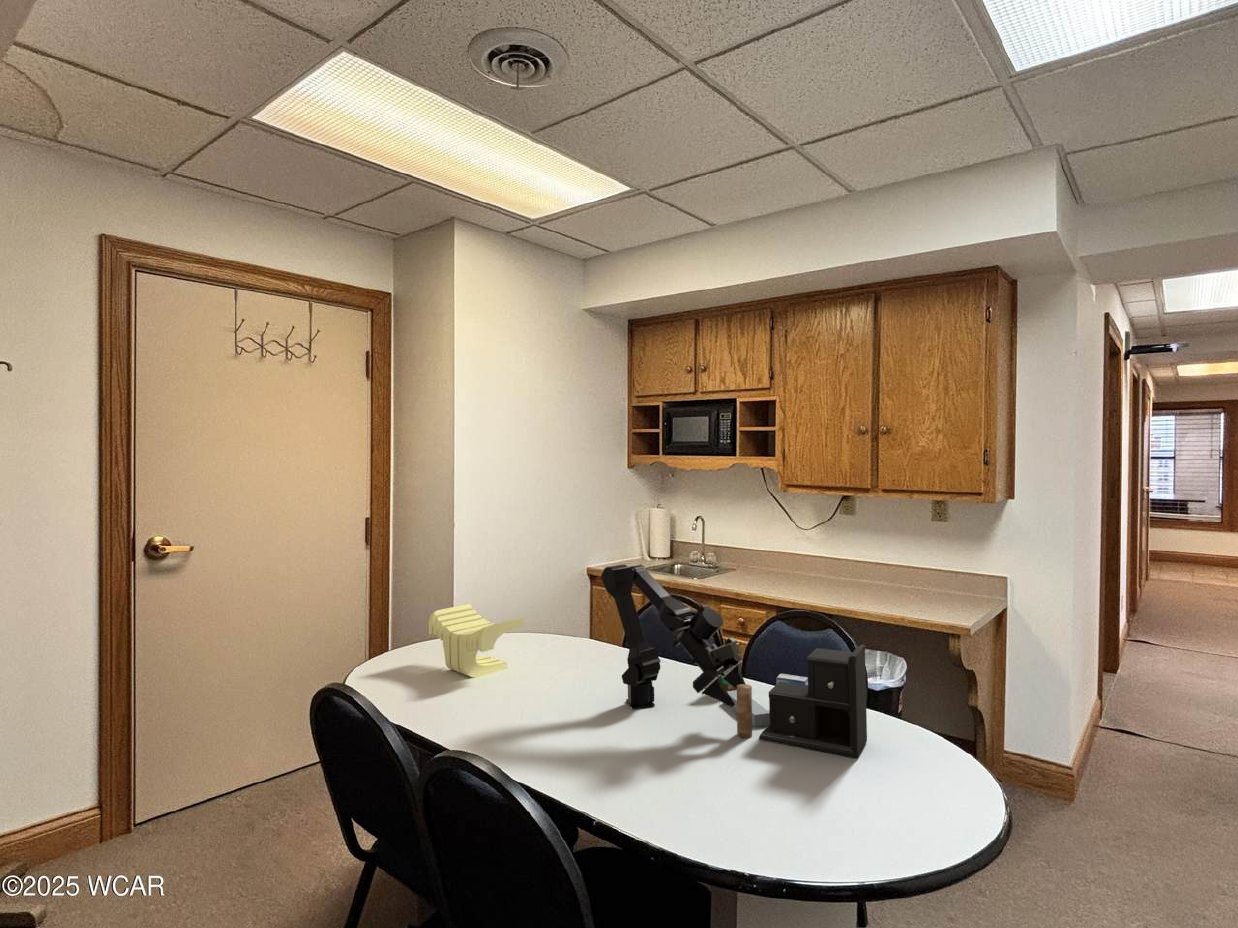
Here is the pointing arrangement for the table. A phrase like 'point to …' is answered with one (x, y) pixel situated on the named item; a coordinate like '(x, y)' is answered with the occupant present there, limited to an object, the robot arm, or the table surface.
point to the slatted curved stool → (469, 639)
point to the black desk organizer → (823, 705)
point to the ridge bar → (754, 711)
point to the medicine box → (792, 679)
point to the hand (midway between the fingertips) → (740, 699)
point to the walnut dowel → (744, 711)
